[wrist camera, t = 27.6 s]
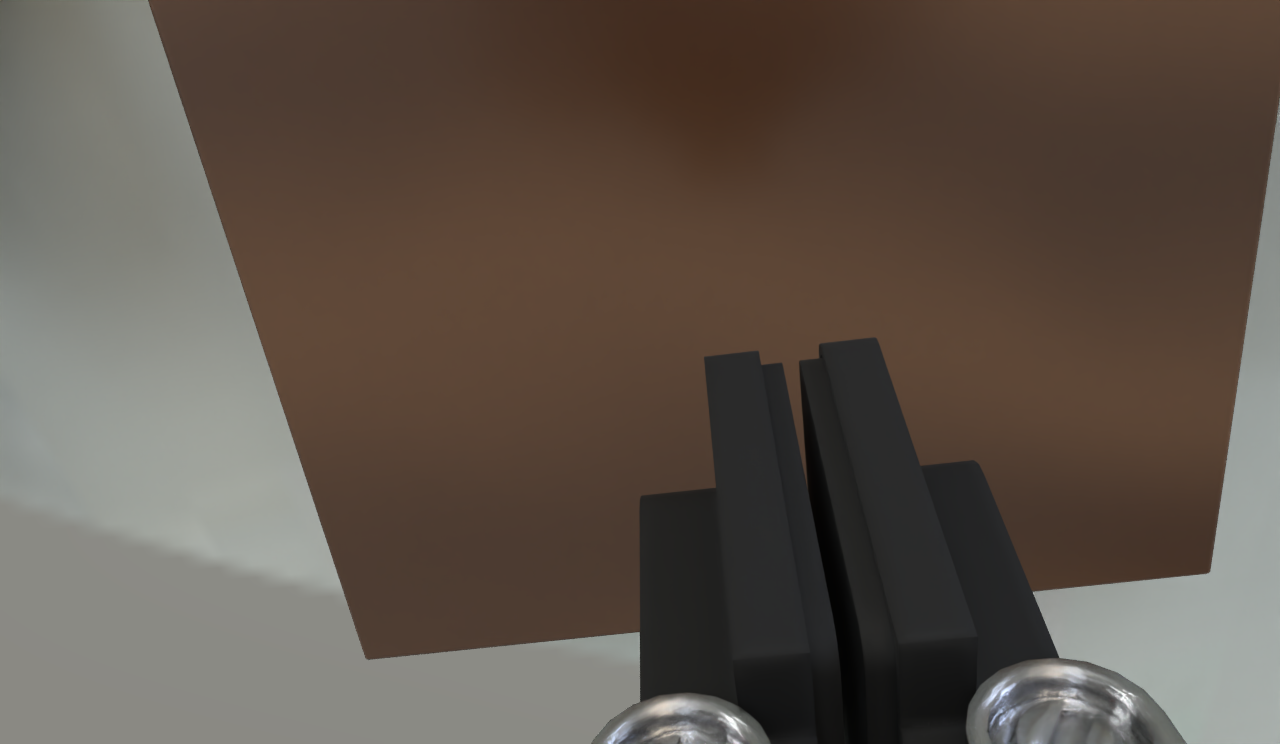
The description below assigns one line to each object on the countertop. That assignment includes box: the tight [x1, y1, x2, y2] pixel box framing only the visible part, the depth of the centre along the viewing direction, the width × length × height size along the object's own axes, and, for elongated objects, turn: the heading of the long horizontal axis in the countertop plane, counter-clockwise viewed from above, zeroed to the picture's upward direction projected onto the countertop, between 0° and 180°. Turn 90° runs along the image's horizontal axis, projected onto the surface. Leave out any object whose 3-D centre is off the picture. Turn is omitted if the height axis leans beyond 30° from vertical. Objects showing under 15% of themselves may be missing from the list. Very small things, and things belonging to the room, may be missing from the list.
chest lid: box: [148, 0, 1280, 660], centre depth 16 cm, size 18×15×1 cm
